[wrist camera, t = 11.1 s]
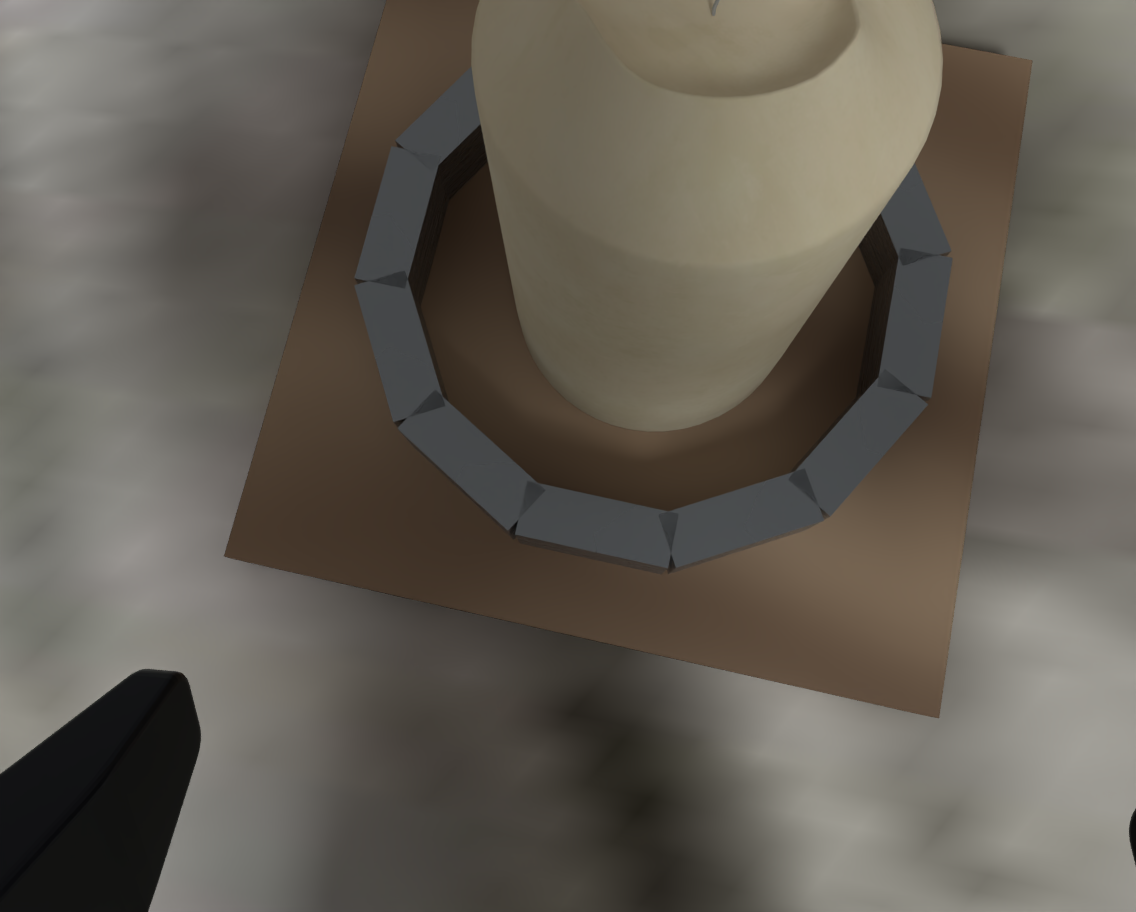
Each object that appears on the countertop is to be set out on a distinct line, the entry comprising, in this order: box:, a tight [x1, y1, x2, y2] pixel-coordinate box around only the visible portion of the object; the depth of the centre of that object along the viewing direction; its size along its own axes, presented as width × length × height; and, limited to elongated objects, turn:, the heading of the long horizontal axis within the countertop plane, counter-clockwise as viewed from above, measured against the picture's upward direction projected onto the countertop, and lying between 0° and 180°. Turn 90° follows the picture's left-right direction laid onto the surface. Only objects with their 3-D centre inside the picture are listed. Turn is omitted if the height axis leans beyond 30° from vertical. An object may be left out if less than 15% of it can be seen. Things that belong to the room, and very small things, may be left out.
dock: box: [224, 0, 1032, 718], centre depth 19 cm, size 14×14×2 cm
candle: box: [471, 0, 943, 432], centre depth 15 cm, size 6×6×10 cm
